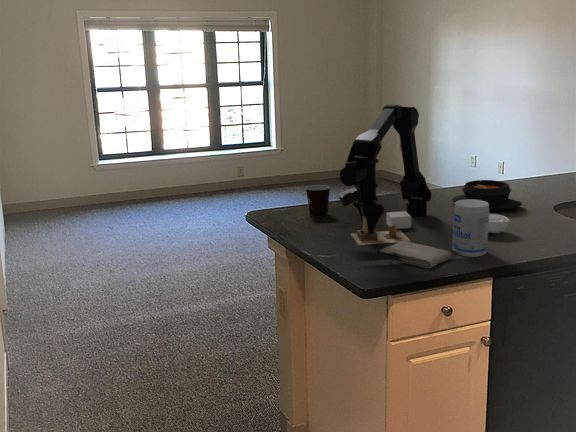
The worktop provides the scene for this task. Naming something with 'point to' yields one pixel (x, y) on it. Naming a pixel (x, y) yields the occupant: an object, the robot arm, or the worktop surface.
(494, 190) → the casserole
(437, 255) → the washcloth
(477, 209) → the supplement tub
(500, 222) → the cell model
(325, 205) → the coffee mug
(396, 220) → the grey rounded cube
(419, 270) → the worktop surface
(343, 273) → the worktop surface
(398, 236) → the board
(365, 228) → the peg
